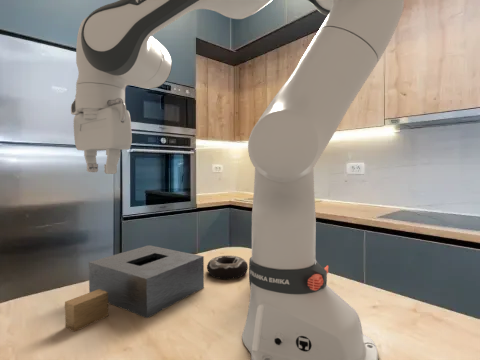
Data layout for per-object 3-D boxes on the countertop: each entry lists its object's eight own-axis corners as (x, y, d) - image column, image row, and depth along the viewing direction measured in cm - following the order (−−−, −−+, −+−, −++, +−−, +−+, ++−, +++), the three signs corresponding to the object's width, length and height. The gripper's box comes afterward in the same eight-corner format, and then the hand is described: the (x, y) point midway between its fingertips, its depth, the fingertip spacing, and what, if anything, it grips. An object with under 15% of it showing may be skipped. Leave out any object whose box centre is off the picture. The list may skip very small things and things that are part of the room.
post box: (203, 287, 76) (203, 256, 75) (147, 318, 60) (146, 278, 60) (149, 272, 86) (148, 245, 86) (89, 295, 71) (88, 262, 71)
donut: (236, 284, 78) (236, 269, 78) (199, 276, 84) (198, 262, 83) (254, 270, 89) (254, 257, 89) (219, 264, 94) (219, 252, 94)
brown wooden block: (108, 316, 61) (108, 292, 61) (74, 332, 55) (73, 305, 55) (99, 312, 63) (99, 289, 63) (65, 327, 57) (64, 301, 57)
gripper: (141, 99, 55) (140, 174, 55) (98, 111, 69) (98, 171, 70) (105, 92, 50) (105, 175, 51) (68, 107, 65) (68, 171, 65)
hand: (101, 173), depth 60 cm, fingers open, 8 cm apart
